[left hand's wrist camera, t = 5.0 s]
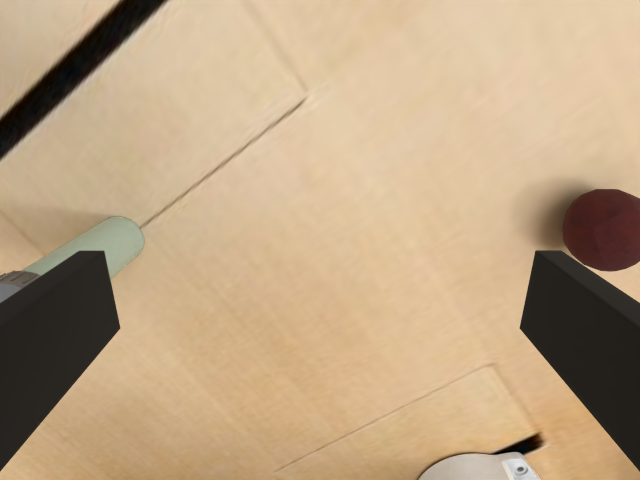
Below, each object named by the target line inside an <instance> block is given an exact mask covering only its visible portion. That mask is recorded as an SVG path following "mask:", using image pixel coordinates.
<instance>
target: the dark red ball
mask: <svg viewBox="0 0 640 480" xmlns="http://www.w3.org/2000/svg"><path fill="white" fill-rule="evenodd" d="M563 240H564V242H565V244H566V246H567V248H568V249H569V251H570V252H571V254H572V255H573V256H574V257H575V258H577V259H578V260H579V261H580V262H581V263H583V264H584V265H586V266H589V267H592V268H594V269H597V270H600V271H618V270H622V269H626V268H628V267H631V266H633V265H635V264H636V263H638V262H639V261H640V199H639V198H637V197H635V196H633V195H631V194H628V193H626V192H623V191H620V190H617V189H596V190H593V191H590V192H588V193H585V194H583V195H581V196H580V197H579V198H577V199H576V200H575V201H574V202H573V203H572V204H571V206H570V207H569V209H568V210H567V213H566V217H565V220H564V224H563Z"/></svg>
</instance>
